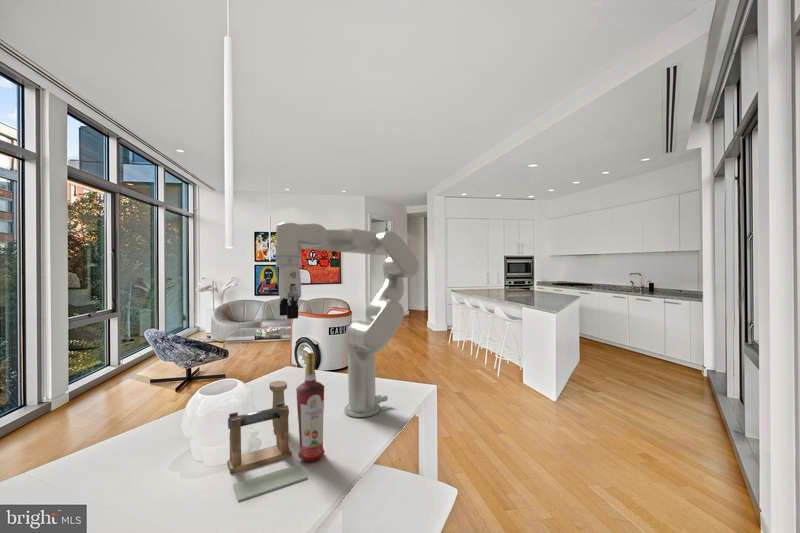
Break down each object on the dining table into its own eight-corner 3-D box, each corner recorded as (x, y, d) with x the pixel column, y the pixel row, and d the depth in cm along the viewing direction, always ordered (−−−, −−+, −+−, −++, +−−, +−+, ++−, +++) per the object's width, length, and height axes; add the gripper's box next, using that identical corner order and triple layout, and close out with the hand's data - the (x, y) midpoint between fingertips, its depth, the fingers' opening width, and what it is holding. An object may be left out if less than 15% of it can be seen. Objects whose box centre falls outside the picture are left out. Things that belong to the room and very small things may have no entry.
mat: (298, 465, 94) (298, 464, 94) (307, 478, 88) (307, 477, 88) (233, 485, 85) (233, 484, 85) (238, 501, 80) (238, 500, 80)
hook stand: (285, 446, 104) (284, 401, 104) (291, 455, 99) (290, 408, 99) (227, 463, 96) (226, 413, 96) (230, 473, 91) (229, 421, 91)
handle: (275, 437, 110) (275, 387, 110) (267, 430, 114) (266, 383, 114) (290, 432, 113) (290, 384, 113) (282, 426, 118) (281, 379, 118)
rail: (286, 413, 102) (286, 403, 102) (289, 417, 100) (288, 406, 100) (227, 427, 94) (227, 416, 94) (229, 431, 92) (229, 420, 92)
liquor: (302, 468, 92) (300, 358, 92) (294, 456, 99) (292, 353, 99) (329, 459, 96) (327, 354, 96) (320, 448, 102) (318, 349, 103)
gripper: (308, 261, 109) (308, 319, 109) (293, 263, 124) (293, 313, 123) (283, 261, 105) (283, 320, 105) (270, 262, 120) (270, 314, 119)
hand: (288, 316), depth 114 cm, fingers open, 9 cm apart
